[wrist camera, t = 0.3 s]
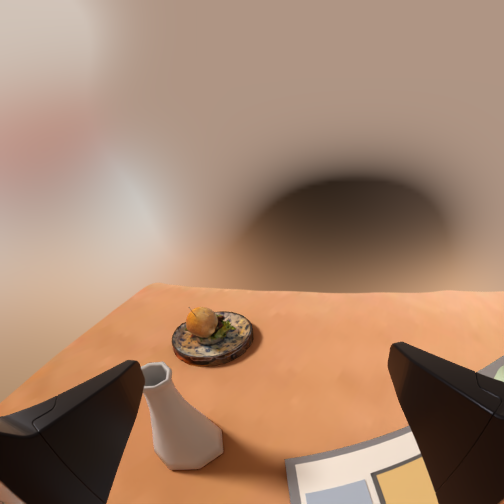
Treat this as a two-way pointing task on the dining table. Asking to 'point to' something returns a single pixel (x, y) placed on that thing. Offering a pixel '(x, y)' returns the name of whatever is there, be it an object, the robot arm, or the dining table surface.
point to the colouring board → (363, 474)
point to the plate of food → (212, 337)
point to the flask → (178, 423)
